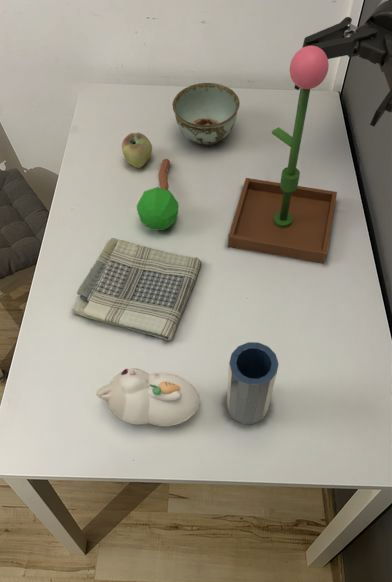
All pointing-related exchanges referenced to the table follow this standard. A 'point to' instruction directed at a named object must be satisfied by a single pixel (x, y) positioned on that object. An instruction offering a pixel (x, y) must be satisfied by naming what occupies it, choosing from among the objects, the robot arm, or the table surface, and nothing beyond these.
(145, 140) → the apple
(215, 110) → the bowl
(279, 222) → the flower
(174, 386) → the cat figurine
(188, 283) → the dish towel
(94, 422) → the table surface
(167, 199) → the tree
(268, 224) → the tray
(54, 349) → the table surface
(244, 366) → the vase
